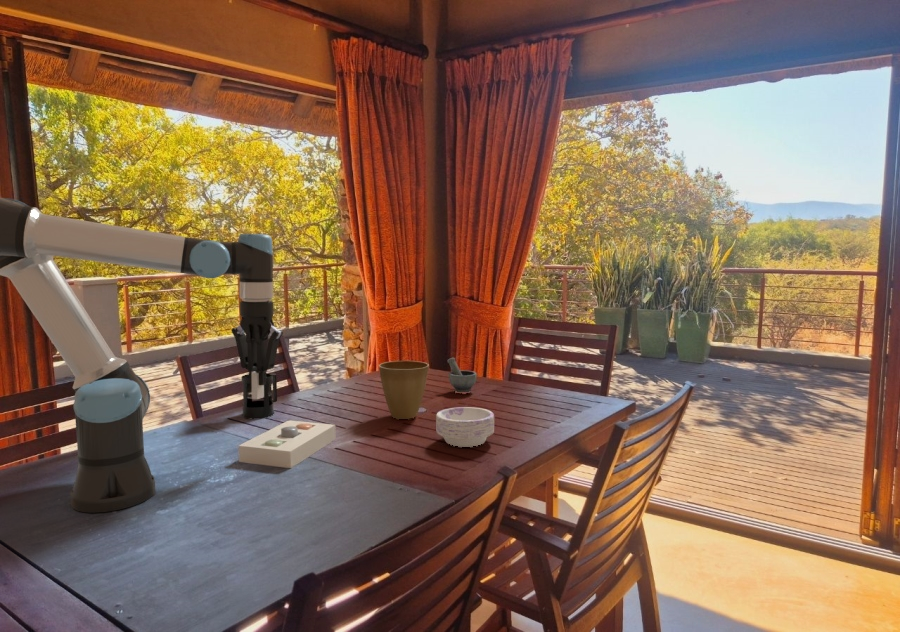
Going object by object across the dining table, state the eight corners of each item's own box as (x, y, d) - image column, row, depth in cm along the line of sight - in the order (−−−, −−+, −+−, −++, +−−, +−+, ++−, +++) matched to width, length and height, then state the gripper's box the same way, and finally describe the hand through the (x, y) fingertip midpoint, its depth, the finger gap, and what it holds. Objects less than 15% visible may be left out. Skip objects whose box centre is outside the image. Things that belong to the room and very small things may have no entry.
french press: (252, 421, 177) (249, 343, 174) (233, 415, 182) (230, 340, 180) (285, 412, 186) (283, 339, 183) (266, 407, 192) (264, 336, 189)
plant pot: (435, 420, 178) (435, 367, 176) (387, 425, 173) (386, 371, 171) (419, 408, 192) (419, 358, 190) (374, 412, 186) (373, 361, 185)
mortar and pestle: (481, 391, 214) (481, 358, 213) (467, 396, 206) (467, 362, 205) (455, 387, 220) (455, 355, 219) (440, 392, 213) (440, 359, 211)
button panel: (290, 468, 139) (290, 451, 139) (239, 461, 143) (238, 445, 143) (335, 439, 160) (335, 424, 160) (289, 434, 164) (288, 420, 164)
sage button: (276, 461, 143) (276, 445, 142) (262, 460, 144) (261, 443, 143) (286, 456, 147) (285, 440, 146) (271, 454, 148) (271, 438, 147)
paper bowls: (454, 430, 169) (454, 402, 168) (503, 439, 161) (504, 410, 160) (424, 445, 156) (424, 415, 155) (476, 456, 148) (476, 424, 147)
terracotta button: (307, 443, 156) (306, 428, 156) (293, 442, 157) (293, 427, 157) (315, 438, 160) (314, 424, 159) (301, 437, 161) (301, 422, 161)
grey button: (292, 447, 149) (292, 431, 149) (278, 445, 150) (278, 430, 150) (301, 442, 153) (300, 427, 153) (287, 441, 154) (286, 425, 154)
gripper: (289, 300, 143) (290, 397, 146) (243, 297, 147) (244, 392, 150) (270, 302, 136) (272, 404, 139) (222, 299, 140) (224, 398, 143)
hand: (257, 397), depth 144 cm, fingers closed
